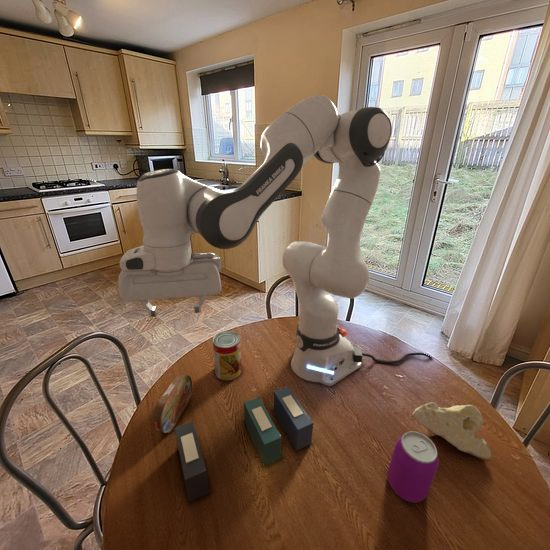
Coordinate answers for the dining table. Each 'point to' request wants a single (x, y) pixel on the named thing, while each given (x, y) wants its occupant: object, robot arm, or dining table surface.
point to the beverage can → (413, 466)
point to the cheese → (454, 426)
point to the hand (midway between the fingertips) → (176, 313)
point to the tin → (172, 403)
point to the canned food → (227, 355)
